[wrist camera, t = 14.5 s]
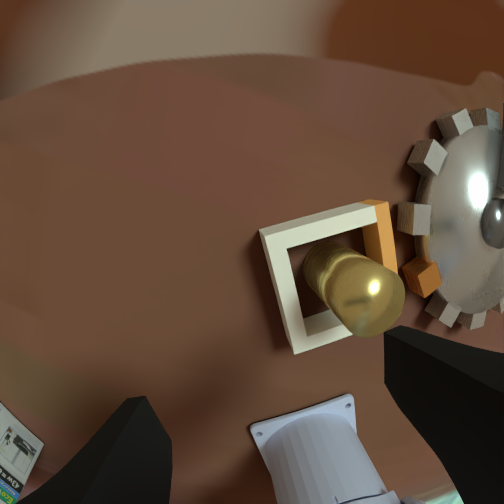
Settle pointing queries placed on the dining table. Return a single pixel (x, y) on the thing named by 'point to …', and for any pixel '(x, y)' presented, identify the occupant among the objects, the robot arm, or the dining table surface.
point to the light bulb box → (15, 456)
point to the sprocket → (458, 218)
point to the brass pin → (354, 288)
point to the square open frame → (313, 228)
